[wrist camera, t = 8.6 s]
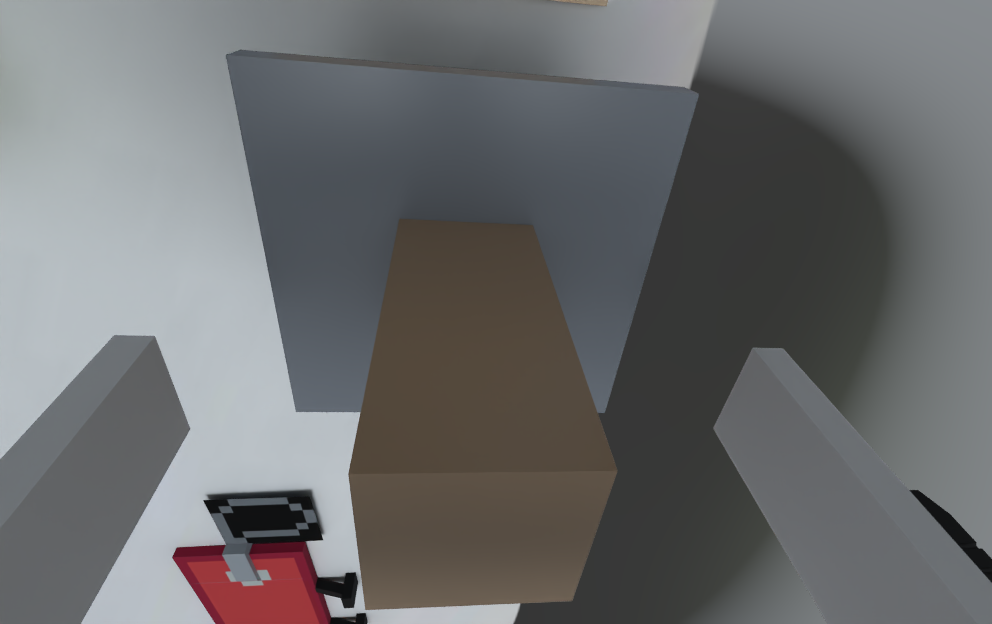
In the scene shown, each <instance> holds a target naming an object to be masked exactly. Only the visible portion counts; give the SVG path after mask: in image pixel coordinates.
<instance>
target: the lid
mask: <svg viewBox="0 0 992 624" xmlns="http://www.w3.org/2000/svg"><path fill="white" fill-rule="evenodd" d="M226 59H227V64H228V69H229V74H230V79H231V84H232V89H233V94H234V99H235V104H236V109H237V115H238V120H239V125H240V130H241V135H242V140H243V145H244V150H245V155H246V160H247V165H248V170H249V175H250V181H251V186H252V191H253V196H254V201H255V206H256V211H257V216H258V221H259V226H260V231H261V236H262V241H263V246H264V252H265V257H266V262H267V267H268V272H269V277H270V282H271V287H272V292H273V297H274V302H275V307H276V312H277V318H278V323H279V328H280V333H281V338H282V343H283V348H284V353H285V358H286V363H287V368H288V373H289V378H290V384H291V389H292V394H293V399H294V404H295V409H296V412H361V413H360V418H359V423H358V428H357V433H356V438H355V443H354V449H353V454H352V459H351V464H350V469H349V474H348V475H349V483H350V491H351V499H352V507H353V515H354V523H355V531H356V538H357V546H358V554H359V562H360V570H361V578H362V586H363V594H364V602H365V610H376V609H399V608H422V607H445V606H468V605H491V604H514V603H536V602H560V601H572V599H573V597H574V594H575V591H576V588H577V585H578V582H579V579H580V577H581V574H582V571H583V568H584V565H585V562H586V559H587V557H588V554H589V551H590V548H591V545H592V542H593V540H594V537H595V534H596V531H597V528H598V525H599V522H600V519H601V517H602V514H603V511H604V508H605V505H606V502H607V499H608V497H609V494H610V491H611V488H612V485H613V482H614V479H615V477H616V473H617V468H616V465H615V462H614V459H613V457H612V454H611V451H610V448H609V445H608V442H607V439H606V436H605V433H604V430H603V427H602V424H601V422H600V419H599V416H598V413H605V409H606V406H607V403H608V400H609V396H610V393H611V389H612V386H613V383H614V379H615V376H616V373H617V369H618V366H619V362H620V359H621V356H622V352H623V349H624V346H625V342H626V339H627V335H628V332H629V329H630V325H631V322H632V319H633V315H634V312H635V309H636V305H637V301H638V298H639V295H640V292H641V288H642V285H643V282H644V278H645V275H646V271H647V268H648V265H649V261H650V258H651V255H652V251H653V248H654V244H655V241H656V237H657V234H658V231H659V227H660V224H661V221H662V217H663V214H664V211H665V207H666V204H667V200H668V197H669V194H670V191H671V187H672V184H673V180H674V177H675V173H676V170H677V167H678V164H679V160H680V157H681V153H682V150H683V146H684V143H685V140H686V137H687V133H688V130H689V126H690V123H691V120H692V116H693V113H694V110H695V106H696V103H697V99H698V96H699V94H698V93H696V92H693V91H691V90H689V89H687V88H685V87H676V86H664V85H652V84H640V83H628V82H617V81H605V80H593V79H581V78H569V77H557V76H545V75H533V74H522V73H510V72H498V71H486V70H474V69H462V68H450V67H438V66H427V65H415V64H403V63H391V62H379V61H367V60H355V59H343V58H332V57H320V56H308V55H296V54H284V53H272V52H260V51H249V50H238V51H236V52H233V53H230V54H227V55H226Z"/></svg>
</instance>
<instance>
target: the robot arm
mask: <svg viewBox="0 0 992 624" xmlns="http://www.w3.org/2000/svg"><path fill="white" fill-rule="evenodd" d="M713 429H714V430H715V432H716V434H717V436H718V437H719V439H720V441H721V442H722V444H723V446H724V448H725V449H726V451H727V453H728V454H729V456H730V458H731V460H732V461H733V463H734V465H735V466H736V468H737V470H738V472H739V473H740V475H741V477H742V479H743V480H744V482H745V484H746V485H747V487H748V489H749V490H750V492H751V494H752V495H753V497H754V499H755V501H756V502H757V504H758V506H759V508H760V509H761V511H762V513H763V514H764V516H765V518H766V520H767V521H768V523H769V525H770V527H771V528H772V530H773V532H774V533H775V535H776V537H777V539H778V540H779V542H780V544H781V545H782V547H783V549H784V551H785V552H786V554H787V556H788V558H789V559H790V561H791V563H792V564H793V566H794V568H795V569H796V571H797V573H798V574H799V576H800V578H801V580H802V582H803V583H804V585H805V587H806V588H807V590H808V592H809V594H810V595H811V597H812V599H813V600H814V602H815V604H816V606H817V607H818V609H819V611H820V612H821V614H822V616H823V618H824V619H825V621H826V622H827V624H992V559H991V558H990V557H989V556H988V555H987V553H986V552H985V551H984V550H983V549H979V548H978V547H977V546H976V542H975V541H974V539H972V537H971V536H970V535H969V534H968V533H967V532H966V531H965V530H964V529H963V528H962V527H961V525H960V524H959V523H958V522H957V521H956V520H955V519H954V518H953V517H952V516H951V515H950V514H949V513H948V512H946V511H945V510H944V509H942V508H941V507H940V506H938V505H937V504H936V503H934V502H933V501H932V500H931V499H929V498H928V497H927V496H925V495H924V494H923V493H921V492H920V491H918V490H909V489H908V488H907V487H906V486H905V485H904V484H903V483H902V482H901V481H900V479H899V478H898V477H897V476H896V475H895V474H894V473H893V472H892V470H891V469H890V468H889V467H888V466H887V465H886V464H885V463H884V461H882V459H881V458H880V457H879V456H878V455H877V454H876V452H875V451H874V450H873V449H872V448H871V447H870V446H869V445H868V444H867V442H866V441H865V440H864V439H863V438H862V437H861V436H860V435H859V433H858V432H857V431H856V430H855V429H854V428H853V427H852V426H851V424H850V423H849V422H848V421H847V420H846V419H845V418H844V417H843V415H842V414H841V413H840V412H839V411H838V410H837V409H836V408H835V406H834V405H833V404H832V403H831V402H830V401H829V400H828V399H827V397H826V396H825V395H824V394H823V393H822V392H821V391H820V390H819V388H818V387H817V386H816V385H815V384H814V383H813V382H812V381H811V380H810V378H809V377H808V376H807V375H806V374H805V373H804V372H803V371H802V369H801V368H800V367H799V366H798V365H797V364H796V363H795V362H794V361H793V359H792V358H791V357H790V356H789V355H788V354H787V353H786V352H785V350H784V349H783V348H753V349H752V351H751V353H750V355H749V357H748V359H747V361H746V363H745V365H744V367H743V369H742V371H741V373H740V375H739V377H738V379H737V381H736V383H735V385H734V387H733V389H732V391H731V393H730V395H729V397H728V399H727V401H726V403H725V405H724V407H723V410H722V412H721V414H720V416H719V418H718V420H717V422H716V424H715V426H714V428H713ZM189 430H190V427H189V424H188V422H187V419H186V416H185V414H184V411H183V409H182V406H181V403H180V401H179V398H178V395H177V393H176V390H175V388H174V385H173V382H172V380H171V377H170V375H169V372H168V369H167V367H166V364H165V361H164V359H163V356H162V354H161V351H160V348H159V346H158V343H157V340H156V338H155V336H124V335H114V336H113V337H112V338H111V339H110V340H109V342H108V343H107V344H106V345H105V346H104V347H103V348H102V349H101V350H100V351H99V352H98V354H97V355H96V356H95V357H94V358H93V359H92V360H91V361H90V362H89V363H88V364H87V366H86V367H85V368H84V369H83V370H82V371H81V372H80V373H79V374H78V375H77V376H76V378H75V379H74V380H73V381H72V382H71V383H70V384H69V385H68V386H67V387H66V388H65V390H64V391H63V392H62V393H61V394H60V395H59V396H58V397H57V398H56V399H55V400H54V401H53V403H52V404H51V405H50V406H49V407H48V408H47V409H46V410H45V411H44V412H43V413H42V415H41V416H40V417H39V418H38V419H37V420H36V421H35V422H34V423H33V424H32V425H31V427H30V428H29V429H28V430H27V431H26V432H25V433H24V434H23V435H22V436H21V437H20V439H19V440H18V441H17V442H16V443H15V444H14V445H13V446H12V447H11V448H10V449H9V451H8V452H7V453H6V454H5V455H4V456H3V457H2V458H1V459H0V624H81V622H82V620H83V619H84V617H85V615H86V613H87V612H88V610H89V608H90V606H91V604H92V603H93V601H94V599H95V597H96V596H97V594H98V592H99V590H100V588H101V587H102V585H103V583H104V581H105V580H106V578H107V576H108V574H109V572H110V571H111V569H112V567H113V565H114V564H115V562H116V560H117V558H118V556H119V555H120V553H121V551H122V549H123V548H124V546H125V544H126V542H127V540H128V539H129V537H130V535H131V533H132V532H133V530H134V528H135V526H136V524H137V523H138V521H139V519H140V517H141V516H142V514H143V512H144V510H145V508H146V507H147V505H148V503H149V501H150V500H151V498H152V496H153V494H154V492H155V491H156V489H157V487H158V485H159V484H160V482H161V480H162V478H163V476H164V475H165V473H166V471H167V469H168V468H169V466H170V464H171V462H172V460H173V459H174V457H175V455H176V453H177V452H178V450H179V448H180V446H181V444H182V443H183V441H184V439H185V437H186V436H187V434H188V432H189Z"/></svg>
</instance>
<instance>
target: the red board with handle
mask: <svg viewBox="0 0 992 624" xmlns="http://www.w3.org/2000/svg"><path fill="white" fill-rule="evenodd" d="M203 501H204V503H205V505H206V507H207V509H208V510H209V512H210V514H211V516H212V518H213V520H214V522H215V524H216V526H217V528H218V530H219V532H220V534H221V535H222V537H223V539H224V541H225V543H226V545H218V546H196V547H179V548H177V549H176V551H175V553H174V555H173V557H172V558H173V559H174V561H175V562H176V564H177V566H178V567H179V569H180V570H181V572H182V573H183V575H184V576H185V578H186V579H187V581H188V582H189V584H190V585H191V587H192V588H193V590H194V591H195V593H196V595H197V596H198V598H199V599H200V601H201V602H202V604H203V605H204V607H205V608H206V610H207V611H208V613H209V614H210V616H211V617H212V619H213V621H214V622H215V624H367V617H366V613H359V614H357V615H356V622H351V621H347V620H343V619H339V618H335V617H332V618H331V616H330V613H329V610H328V607H327V604H326V601H325V598H324V595H323V594H326V595H330V596H334V597H338V598H341V600H342V603H343V606H344V608H354V604H355V597H356V591H357V585H358V580H357V576H356V572H354V573H346V576H345V581H344V584H342V583H338V582H334V581H330V580H325V579H321V578H318V577H317V575H316V572H315V569H314V566H313V563H312V560H311V557H310V554H309V552H308V549H307V546H306V543H305V542H292V541H316V540H323V538H322V535H321V532H320V528H319V525H318V522H317V519H316V515H315V512H314V509H313V506H312V503H311V499H310V497H282V498H254V499H226V500H203ZM269 542H289V543H269ZM253 543H265V544H253Z"/></svg>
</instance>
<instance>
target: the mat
mask: <svg viewBox="0 0 992 624" xmlns="http://www.w3.org/2000/svg"><path fill="white" fill-rule="evenodd" d="M551 1H560V2H570V3H580V4H589V5H599V6H607V2H608V0H551Z"/></svg>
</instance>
